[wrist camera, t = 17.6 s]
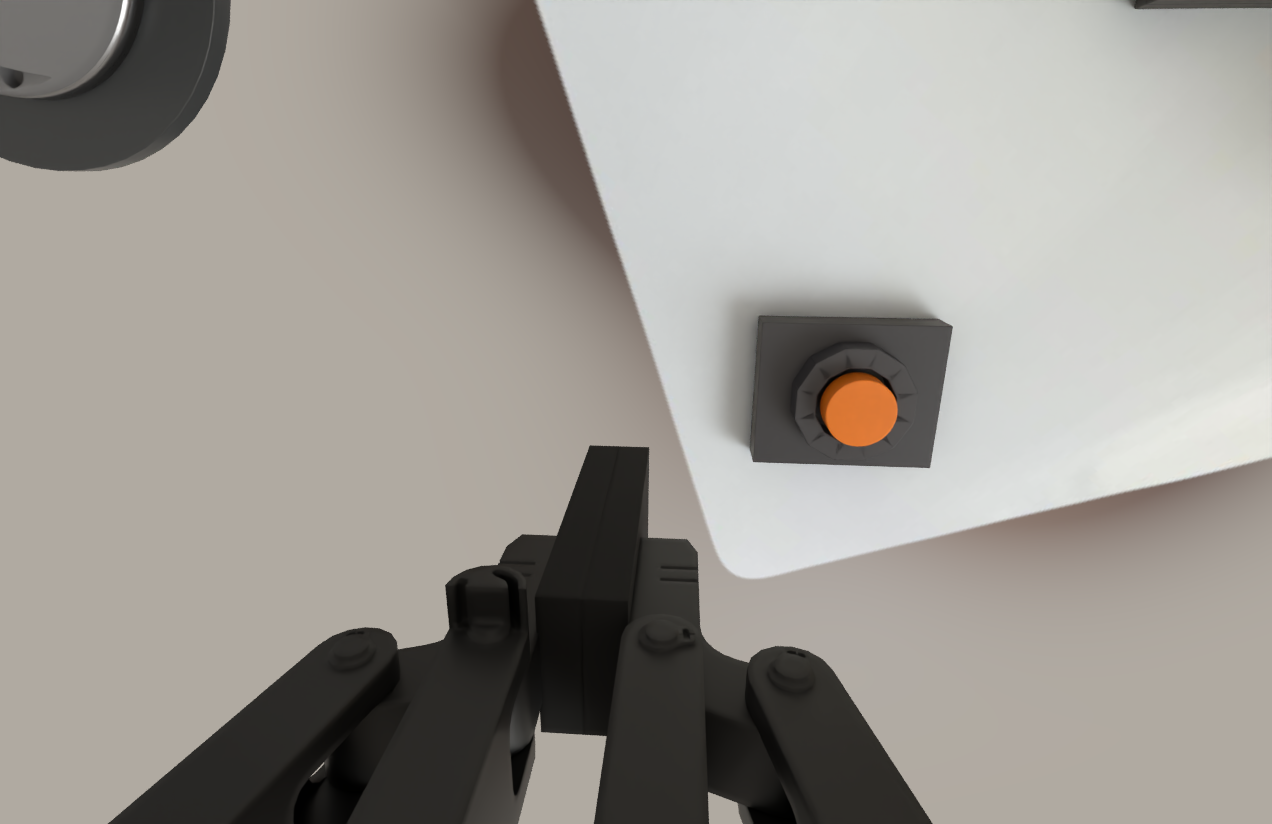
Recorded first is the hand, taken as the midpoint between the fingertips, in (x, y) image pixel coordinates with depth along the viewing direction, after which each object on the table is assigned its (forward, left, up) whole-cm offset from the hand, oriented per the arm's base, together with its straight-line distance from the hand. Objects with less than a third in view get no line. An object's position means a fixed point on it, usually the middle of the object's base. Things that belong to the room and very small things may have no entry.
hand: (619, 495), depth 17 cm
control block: (+12, +4, -26) cm, 29 cm away
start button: (+12, +4, -23) cm, 26 cm away
